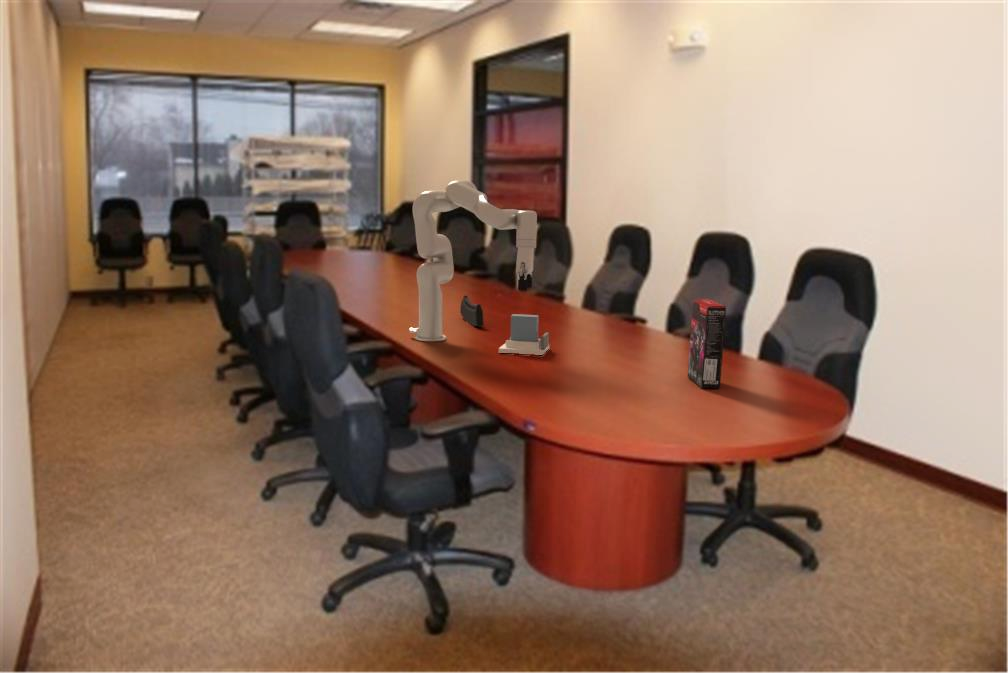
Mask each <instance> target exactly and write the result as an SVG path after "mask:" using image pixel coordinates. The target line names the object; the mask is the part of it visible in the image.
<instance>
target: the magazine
mask: <svg viewBox="0 0 1008 673" xmlns="http://www.w3.org/2000/svg"><path fill="white" fill-rule="evenodd" d="M459 313H460V315H461V316H462V318H463V319H464V320H465V322H466V321H467V322H468V323H467V322H466V323H467V324H469V323H470V324H472V325H471V326H476V327H484V309H483V308H482V304H479V303H477V304H475V303H473V302H472V301H471V300H470V298H469V297H468V295H463V298H462V299H461V302H460V310H459ZM470 324H469V325H470Z"/></svg>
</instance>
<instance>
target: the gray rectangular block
mask: <svg viewBox="0 0 1008 673" xmlns="http://www.w3.org/2000/svg"><path fill="white" fill-rule="evenodd" d="M539 315H540V314H537V315H535V314H534V315H533V314H521V313H520V314H519V313H517V314H515V313H512V314H511V315H510V337H511V340H510V339H509V341H526V342H538V339H539V317H540V316H539Z"/></svg>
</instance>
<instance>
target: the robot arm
mask: <svg viewBox="0 0 1008 673" xmlns="http://www.w3.org/2000/svg"><path fill="white" fill-rule="evenodd" d="M460 207H461V208H464V209H465V210H466V211H469V212H471V213H473V214H474V215H475V217H476V218H478V219H479V220H480V221H481V222H482V223H483V224H484V223H485V225H488V226H489V227H492V228H494V229H496V230H501V231H502V230H513V229H514V230H515V229H516V237H515V238H516V241H515V242H516V244H515V245H516V246H515V247H516V248H517V252H516V265H515V266H516V267H515V273H516V274H517V275H518V279H517V281H518V282H517V290H518V291H527V290H528V288H532V287H533V271H534V253H535V252H534V249H536V248H537V230H538V228H537V226H538V223H537V222H538V218H537V217H538V214H537V212H536V211H535V210H520V209H515V208H511V209H509V208H505V209H503V208H498V207H497V206H495V205H493V204H491V203H489V202H488V196H487V195H486V194H485V193H484V192H482V191H479V190H478V188H477V186H476V185H475V184H474V183H473V182H471V181H468V180H453V181H451V182H449V183H448V184H447V185H446V187H445V189H444V190H428V191H427V190H425V191H423V192H421V193H420V194H419V195H417V196H416V198H415V199H414V201H413V203H412V217H413V222H414V229H415V240H416V248H417V253H418V256H420V257H421V258H422V259H432V261H427V262H424V263H422V264H420V265H419V267H418V268H417V270H416V282H417V288H418V327H416V328H413V327H410V328H409V333H410V334H416V335H415V336H414V339H415V340H416V341H419V342H441V341H442V342H443V341H445V340H446V339H447V336H446V335H445V334H443V293H442V289H441V286H440V285H442V284H447V283H449V282H450V281H451V280H453V277H454V274H455V273H454V272H455V270H454V269H455V266H454V258H453V249H452V248H453V247H452V244H451V240H449V238H448V237H447V236H446V235H444V234H442V233H441V234H440V233H438V230H437V223H436V220H435V217H434V216H433V213H446V212H450V211H453V210H455V209H458V208H460Z"/></svg>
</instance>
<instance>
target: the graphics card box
mask: <svg viewBox="0 0 1008 673" xmlns="http://www.w3.org/2000/svg"><path fill="white" fill-rule="evenodd" d="M691 310H692V312H691V326H690V336H689V337H690V340H689V352H688V353H689V354H688V365H687V366H688V367H687V368H688V369H687V378H688V379H690V380H691V381H692V382H693V383H694V384H696V385H697V386H699V387H700V388H701V389H720V388H721V379H722V364H723V354H724V353H723V352H724V341H725V340H724V339H725V338H724V337H725V328H726V327H725V326H726V313H727V305H723V304H721V303H719V302H717V301H715V300H712V299H711V298H697V299H693V300H692V309H691Z"/></svg>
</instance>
